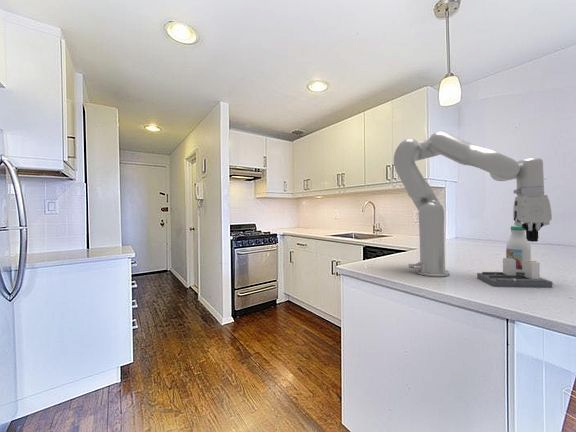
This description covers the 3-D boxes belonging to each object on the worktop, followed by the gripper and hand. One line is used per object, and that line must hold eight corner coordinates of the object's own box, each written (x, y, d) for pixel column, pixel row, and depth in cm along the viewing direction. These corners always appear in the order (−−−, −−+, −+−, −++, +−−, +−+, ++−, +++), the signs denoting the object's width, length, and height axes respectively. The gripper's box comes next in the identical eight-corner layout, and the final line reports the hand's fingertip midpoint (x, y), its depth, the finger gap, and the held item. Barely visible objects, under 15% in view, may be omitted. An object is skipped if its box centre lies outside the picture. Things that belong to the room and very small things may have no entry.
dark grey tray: (493, 286, 96) (493, 279, 96) (477, 277, 107) (477, 271, 107) (552, 287, 92) (552, 279, 92) (529, 278, 104) (529, 271, 104)
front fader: (531, 279, 95) (531, 262, 95) (524, 276, 98) (524, 260, 98) (539, 279, 94) (539, 262, 94) (532, 277, 98) (532, 260, 98)
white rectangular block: (508, 275, 101) (508, 259, 101) (502, 273, 104) (502, 257, 104) (516, 275, 100) (515, 259, 100) (510, 273, 104) (509, 257, 104)
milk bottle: (521, 272, 114) (520, 225, 113) (536, 276, 106) (535, 226, 106) (501, 272, 115) (501, 225, 114) (515, 277, 107) (514, 227, 106)
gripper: (513, 193, 98) (515, 243, 98) (562, 190, 95) (564, 241, 95) (501, 194, 105) (503, 240, 105) (546, 191, 102) (548, 239, 102)
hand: (532, 241), depth 100 cm, fingers closed
